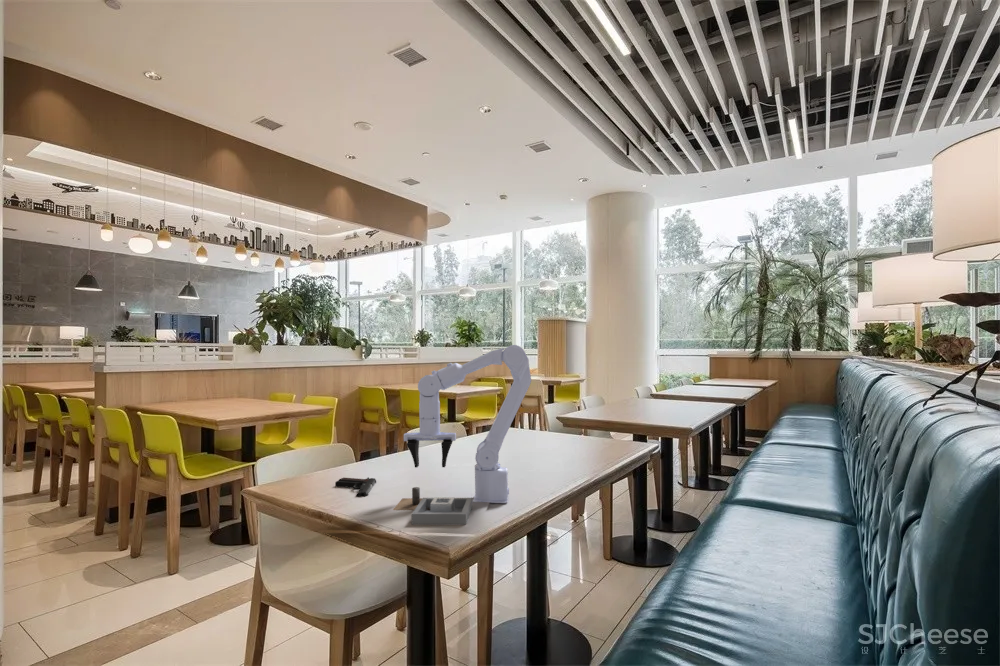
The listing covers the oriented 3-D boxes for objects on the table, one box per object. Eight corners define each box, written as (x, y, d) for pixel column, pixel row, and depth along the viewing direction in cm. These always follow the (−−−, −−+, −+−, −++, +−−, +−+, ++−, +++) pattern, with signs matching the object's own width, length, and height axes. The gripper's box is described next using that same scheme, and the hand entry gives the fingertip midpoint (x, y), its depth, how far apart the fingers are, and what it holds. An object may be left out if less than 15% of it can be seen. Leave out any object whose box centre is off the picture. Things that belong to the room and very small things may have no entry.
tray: (472, 509, 130) (472, 497, 130) (465, 526, 117) (465, 514, 117) (423, 509, 131) (423, 497, 131) (411, 526, 118) (411, 514, 118)
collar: (454, 511, 127) (454, 497, 127) (451, 518, 121) (451, 503, 122) (434, 511, 127) (434, 497, 127) (430, 518, 122) (430, 503, 122)
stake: (437, 500, 138) (437, 483, 138) (430, 512, 128) (430, 493, 128) (402, 500, 139) (402, 483, 139) (392, 512, 129) (392, 493, 129)
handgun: (322, 492, 140) (367, 491, 141) (338, 477, 158) (378, 475, 159) (322, 501, 140) (367, 499, 141) (338, 484, 158) (378, 483, 159)
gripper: (400, 420, 136) (401, 470, 135) (453, 419, 135) (453, 469, 134) (406, 416, 143) (407, 464, 142) (456, 416, 142) (457, 463, 141)
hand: (430, 466), depth 139 cm, fingers open, 7 cm apart
